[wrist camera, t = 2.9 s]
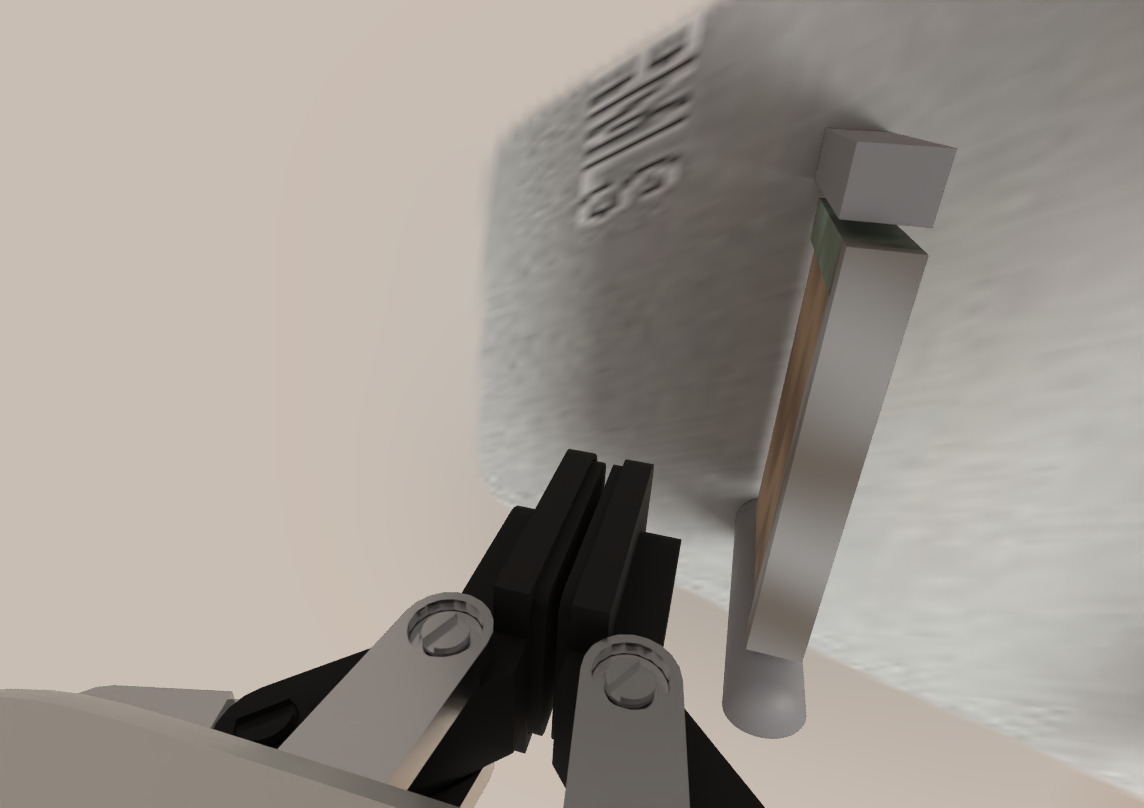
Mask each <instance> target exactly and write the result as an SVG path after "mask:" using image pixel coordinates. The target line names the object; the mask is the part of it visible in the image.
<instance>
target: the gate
mask: <svg viewBox="0 0 1144 808" xmlns="http://www.w3.org/2000/svg"><path fill="white" fill-rule="evenodd" d="M811 241H812V244H813V247H814V253H813V258H812V262H811V267H810V271H809V276H808V280H807V284H806V289H805V293H804V298H803V302H802V306H801V311H800V315H799V320H798V324H797V329H796V333H795V337H794V342H793V346H792V351H791V355H790V359H789V364H788V368H787V373H786V377H785V381H784V386H783V390H782V395H781V399H780V404H779V408H778V412H777V417H776V421H775V426H774V430H773V434H772V439H771V443H770V448H769V452H768V456H767V461H766V465H765V470H764V474H763V479H762V483H761V487H760V492H759V496H758V501H757V507H756V548H755V589H754V599H753V603H752V607H751V612H750V616H749V620H748V624H747V640H746V649H747V650H751V651H755V652H759V653H763V654H767V655H771V656H775V657H779V658H783V659H787V660H791V661H795V662H800V663H802V661H803V658H804V654H805V651H806V648H807V645H808V642H809V638H810V635H811V632H812V629H813V625H814V622H815V619H816V616H817V613H818V609H819V606H820V603H821V600H822V597H823V593H824V590H825V587H826V584H827V580H828V577H829V574H830V571H831V568H832V564H833V561H834V558H835V555H836V552H837V548H838V545H839V542H840V539H841V535H842V532H843V529H844V526H845V523H846V519H847V516H848V513H849V510H850V506H851V503H852V500H853V497H854V494H855V490H856V487H857V484H858V481H859V478H860V474H861V471H862V468H863V465H864V461H865V458H866V455H867V452H868V449H869V445H870V442H871V439H872V436H873V433H874V429H875V426H876V423H877V420H878V416H879V413H880V410H881V407H882V404H883V400H884V397H885V394H886V391H887V387H888V384H889V381H890V378H891V375H892V371H893V368H894V365H895V362H896V359H897V355H898V352H899V349H900V346H901V342H902V339H903V336H904V333H905V330H906V326H907V323H908V320H909V317H910V314H911V310H912V307H913V304H914V301H915V297H916V294H917V291H918V288H919V285H920V281H921V278H922V275H923V272H924V268H925V265H926V262H927V259H928V256H929V255H928V254H927V253H926V252H925V251H924V250H923V249H921V248H920V247H919V246H918V245H917V244H916V243H915V242H914V241H913V240H912V239H911V238H910V237H909V236H908V235H907V234H906V233H905V232H904V231H902V230H901V229H900V228H899V227H898V226H897V225H895V224H884V223H874V222H863V221H852V220H842V219H838V217H837V216H836V214H835V212H834V211H833V209H832V208H831V206H830V204H829V203H828V201H827V199H826V198H819V202H818V206H817V211H816V216H815V220H814V225H813V229H812V234H811Z"/></svg>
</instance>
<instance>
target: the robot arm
mask: <svg viewBox="0 0 1144 808" xmlns="http://www.w3.org/2000/svg"><path fill="white" fill-rule="evenodd" d="M653 470H654V464H649V463H643V462H638V461H632V460H627V459H626V460H625V462H624V464H623V466H619V465H613V467H612V469H611V472H610V474H609V477H608V479H607V482H606V484H605V473H606V463H602V462H597V455H596V454H594V453H589V452H583V451H578V450H572V449H568V451H567V452H566V454H565V456H564V457H563V459H562V461H561V463H560V465H559V467H558V468H557V470H556V472H555V474H554V476H553V478H552V479H551V481H550V483H549V485H548V487H547V489H546V490H545V492H544V494H543V496H542V498H541V500H540V501H539V503H538V505H537V507H536V509H531V508H527V507H522V506H516V507H514V508H513V509H512V511H511V512H510V514H509V515H508V517H507V519H506V520H505V522H504V524H503V525H502V527H501V529H500V531H499V532H498V534H497V536H496V537H495V539H494V540H493V542H492V544H491V545H490V547H489V549H488V550H487V552H486V554H485V555H484V557H483V559H482V560H481V562H480V564H479V565H478V567H477V568H476V570H475V572H474V574H473V575H472V577H471V578H470V580H469V582H468V584H467V585H466V587H465V588H464V590H463V592H462V593H458V592H444V593H439V594H435V595H431V596H428V597H426V598H424V599H422V600H420V601H418V602H416V603H415V604H414V605H412V606H411V607H410V608H409V609H407V610H406V611H405V612H404V613H403V614H402V616H401V617H400V618H399V619H398V620H397V621H396V622H395V623H394V624H393V625H392V626H391V627H390V628H389V630H388V631H387V632H386V633H385V634H384V635H383V636H382V637H381V638H380V639H379V640H378V641H377V642H376V644H375V645H374V646H373V647H372V648H370V649H367V650H364V651H362V652H359V653H356V654H353V655H351V656H348V657H345V658H342V659H339V660H337V661H334V662H331V663H328V664H326V665H323V666H320V667H317V668H314V669H312V670H309V671H306V672H303V673H301V674H298V675H295V676H292V677H290V678H287V679H284V680H281V681H278V682H276V683H273V684H270V685H267V686H265V687H262V688H260V689H258V690H256V691H253V692H252V693H250V694H248V695H245V696H244V697H242V698H241V699H234V697H233V693H232V692H231V691H213V690H194V689H174V688H155V687H136V686H116V685H113V686H103V687H95V688H92V689H90V690H87V691H84V692H81V693H78V694H76V693H68V692H61V691H52V690H27V689H2V690H0V808H474V806H475V804H476V803H477V800H478V799H479V797H480V796H481V794H482V792H483V790H484V789H485V787H486V785H487V783H488V781H489V779H490V777H491V774H492V771H493V769H494V762H495V761H497V760H499V759H502V758H504V757H506V756H508V755H510V754H512V753H513V752H514V750H515V751H518V752H522V753H525V752H526V750H527V747H528V744H529V741H530V738H531V736H532V733H534V734H537V735H541V736H542V735H543V734H544V732H545V729H546V726H547V723H548V720H549V718H550V715H551V711H552V709H553V716H552V733H551V738H552V739H554V744H553V761H552V764H553V766H554V768H555V770H556V772H557V773H558V775H559V777H560V779H561V781H562V783H563V784H564V786H565V788H566V791H565V799H564V807H563V808H765V807H764V806H763V805H762V804H761V802H760V801H759V800H758V799H757V798H756V796H755V795H754V794H753V792H752V791H751V790H750V789H749V788H748V786H747V785H746V784H745V783H744V781H743V780H742V779H741V778H740V776H739V775H738V774H737V773H736V771H735V770H734V769H733V768H732V766H731V765H730V764H729V763H728V762H727V760H726V759H725V758H724V757H723V755H722V754H721V753H720V752H719V751H718V749H717V748H716V747H715V746H714V744H713V743H712V742H711V741H710V739H709V738H708V737H707V736H706V735H705V733H704V732H703V731H702V729H701V728H700V727H699V726H698V725H697V723H696V722H695V721H694V720H693V718H692V717H691V716H690V715H689V713H688V712H687V711H686V710H685V709H684V693H683V679H682V675H681V671H680V667H679V666H678V664H677V663H676V661H675V659H674V658H673V656H672V655H671V654H670V653H669V652H668V651H666V650H665V649H664V648H663V646H664V640H665V635H666V629H667V623H668V617H669V611H670V605H671V599H672V593H673V587H674V581H675V575H676V569H677V563H678V557H679V551H680V545H681V539H677V538H672V537H667V536H662V535H657V534H653V533H648V532H646V524H647V517H648V509H649V501H650V494H651V486H652V478H653ZM604 484H605V487H604Z"/></svg>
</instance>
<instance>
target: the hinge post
mask: <svg viewBox="0 0 1144 808" xmlns="http://www.w3.org/2000/svg"><path fill="white" fill-rule="evenodd" d="M757 501H758V499H756V500H752V501H749V502H747V503H746V504H744V505H743V506H742V507H741V508H740V509H739V511H738V512H737V515H736V523H735V536H734V550H733V564H732V577H731V591H730V604H729V619H728V634H727V645H726V646H727V647H726V659H725V673H724V687H723V701H722V706H723V711H724V713H725V715H726V717H727V718H728V719H729V721H730V722H731V723H732V724H733V725H735V726H736V727H737V728H739V729H740V730H742V731H744V732H746V733H748V734H751V735H753V736H757V737H761V738H769V739H777V738H784V737H788V736H791V735H793V734H794V733H796V732H798V731H799V730H800V729H801V728H802V727H803V725H804V723H805V720H806V705H805V690H804V675H803V661H802V663H800V662H795V661H791V660H787V659H783V658H779V657H775V656H771V655H767V654H763V653H759V652H755V651H751V650H747V649H746V640H747V624H748V620H749V616H750V612H751V607H752V603H753V599H754V589H755V548H756V507H757Z"/></svg>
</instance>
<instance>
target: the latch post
mask: <svg viewBox="0 0 1144 808" xmlns="http://www.w3.org/2000/svg"><path fill="white" fill-rule="evenodd" d="M956 150H957V148H953V147H949V146H945V145H941V144H937V143H933V142H928V141H924V140H920V139H916V138H912V137H908V136H904V135H900V134H896V133H892V132H882V131H867V130H851V129H836V128H826V129H825V134H824V139H823V143H822V148H821V152H820V157H819V162H818V166H817V171H816V176H815V182H816V183H817V185H818V186H819V188H820V190H821V191H822V193H823V195H824V196H825V198H826V199H827V201H828V203H829V204H830V206H831V208H832V209H833V211H834V212H835V214H836V216H837V217H838V219H842V220H852V221H863V222H874V223H884V224H895V225H905V226H916V227H926V228H933V224H934V221H935V218H936V215H937V211H938V208H939V205H940V202H941V198H942V195H943V192H944V189H945V185H946V182H947V179H948V176H949V172H950V169H951V166H952V163H953V159H954V156H955V153H956Z"/></svg>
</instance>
